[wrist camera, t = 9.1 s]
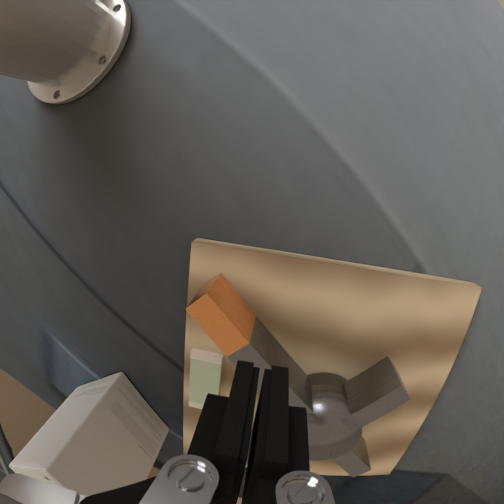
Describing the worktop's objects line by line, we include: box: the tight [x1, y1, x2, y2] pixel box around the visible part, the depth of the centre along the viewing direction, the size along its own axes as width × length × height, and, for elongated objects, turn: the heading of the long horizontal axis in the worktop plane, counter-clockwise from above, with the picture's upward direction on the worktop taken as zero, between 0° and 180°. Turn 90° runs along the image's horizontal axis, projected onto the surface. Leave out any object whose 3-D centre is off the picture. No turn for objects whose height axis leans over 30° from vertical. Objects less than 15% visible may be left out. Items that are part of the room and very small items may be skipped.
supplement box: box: [9, 372, 169, 496], centre depth 23 cm, size 9×9×15 cm
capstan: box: [185, 273, 410, 478], centre depth 22 cm, size 21×14×5 cm, turn 38°
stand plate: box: [183, 238, 482, 476], centre depth 25 cm, size 24×24×2 cm
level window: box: [189, 348, 224, 409], centre depth 25 cm, size 6×3×1 cm, turn 172°
